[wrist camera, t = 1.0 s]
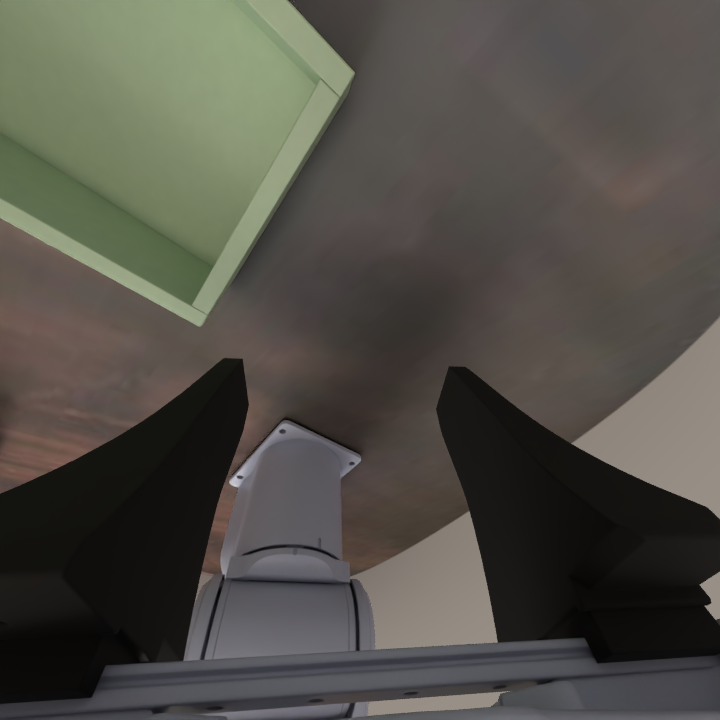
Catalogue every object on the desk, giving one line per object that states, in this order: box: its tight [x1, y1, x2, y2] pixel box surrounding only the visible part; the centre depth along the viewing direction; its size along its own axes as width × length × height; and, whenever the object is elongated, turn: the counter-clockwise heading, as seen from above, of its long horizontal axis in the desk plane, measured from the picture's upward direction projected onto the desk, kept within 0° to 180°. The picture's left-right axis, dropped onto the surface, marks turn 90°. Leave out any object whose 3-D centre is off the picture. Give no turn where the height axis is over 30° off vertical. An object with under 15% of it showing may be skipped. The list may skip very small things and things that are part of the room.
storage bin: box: [0, 0, 355, 327], centre depth 11 cm, size 12×18×5 cm, turn 51°
